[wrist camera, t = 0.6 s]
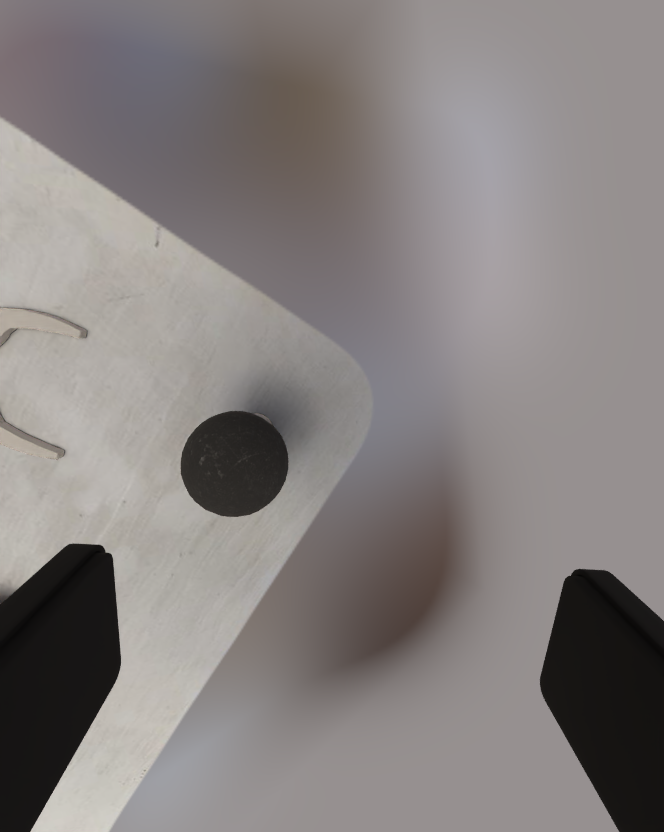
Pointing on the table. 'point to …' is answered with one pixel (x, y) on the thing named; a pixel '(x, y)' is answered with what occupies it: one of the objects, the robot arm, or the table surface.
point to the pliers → (3, 325)
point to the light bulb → (234, 463)
